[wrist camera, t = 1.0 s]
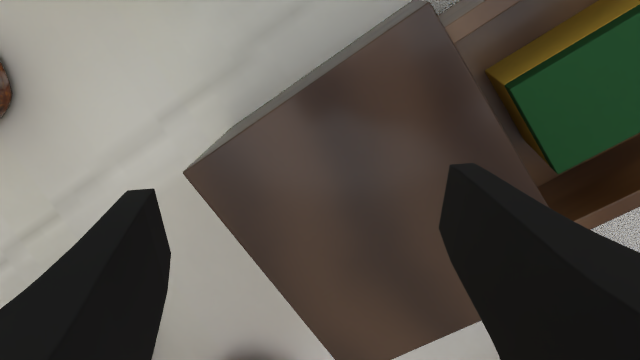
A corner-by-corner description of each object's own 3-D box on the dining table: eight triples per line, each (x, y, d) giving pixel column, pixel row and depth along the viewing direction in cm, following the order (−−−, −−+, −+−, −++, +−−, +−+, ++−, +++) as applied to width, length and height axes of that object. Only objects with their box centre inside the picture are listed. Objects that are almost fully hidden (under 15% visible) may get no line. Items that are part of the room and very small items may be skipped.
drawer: (725, -201, 19) (857, -274, 14) (819, 60, 23) (954, 82, 17) (392, 29, 24) (396, 40, 19) (507, 217, 28) (538, 271, 22)
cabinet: (414, -2, 25) (429, 0, 18) (536, 204, 28) (588, 274, 21) (229, 128, 29) (181, 172, 22) (356, 294, 32) (349, 378, 25)
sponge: (612, -9, 22) (674, -9, 17) (649, 72, 23) (718, 92, 18) (484, 70, 24) (509, 89, 19) (524, 141, 25) (558, 175, 20)
